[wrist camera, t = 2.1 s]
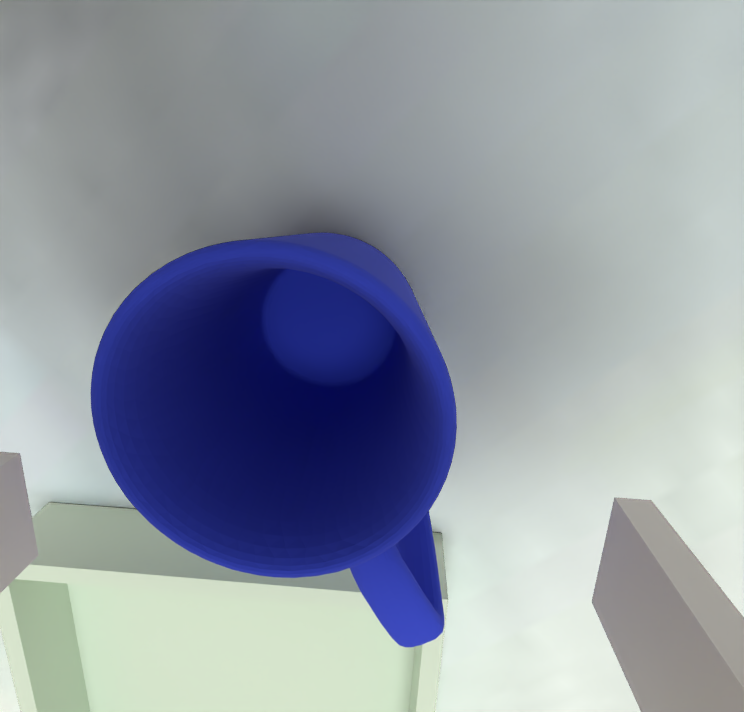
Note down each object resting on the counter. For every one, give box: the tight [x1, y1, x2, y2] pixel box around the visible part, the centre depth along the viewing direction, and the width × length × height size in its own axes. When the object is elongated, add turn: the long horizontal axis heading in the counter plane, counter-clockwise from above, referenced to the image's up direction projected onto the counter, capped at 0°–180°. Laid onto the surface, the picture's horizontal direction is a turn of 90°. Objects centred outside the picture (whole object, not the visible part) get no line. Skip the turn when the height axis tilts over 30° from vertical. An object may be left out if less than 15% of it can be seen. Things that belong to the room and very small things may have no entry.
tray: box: [0, 502, 448, 712], centre depth 25 cm, size 18×19×4 cm
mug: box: [91, 233, 457, 647], centre depth 17 cm, size 8×12×10 cm
